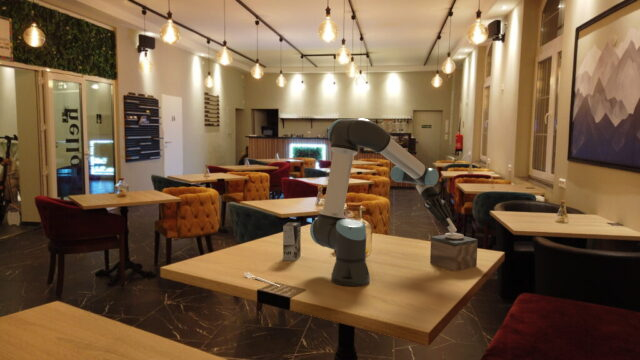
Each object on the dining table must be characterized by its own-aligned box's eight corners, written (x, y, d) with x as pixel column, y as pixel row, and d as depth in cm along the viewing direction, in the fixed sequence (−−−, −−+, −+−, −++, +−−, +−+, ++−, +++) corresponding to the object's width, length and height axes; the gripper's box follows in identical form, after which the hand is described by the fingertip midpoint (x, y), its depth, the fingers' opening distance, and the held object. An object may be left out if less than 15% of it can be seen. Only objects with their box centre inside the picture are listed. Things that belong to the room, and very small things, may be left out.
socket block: (454, 271, 192) (455, 243, 191) (430, 262, 204) (431, 236, 203) (476, 266, 200) (477, 239, 198) (452, 258, 212) (453, 233, 210)
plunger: (453, 266, 196) (454, 237, 195) (439, 261, 203) (440, 234, 202) (466, 263, 201) (467, 235, 199) (452, 259, 207) (453, 232, 206)
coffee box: (296, 261, 206) (296, 226, 204) (282, 260, 207) (282, 225, 205) (301, 255, 215) (301, 222, 213) (288, 255, 216) (288, 221, 214)
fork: (277, 289, 170) (277, 284, 170) (242, 277, 183) (242, 272, 183) (284, 287, 173) (284, 282, 173) (248, 275, 186) (248, 271, 185)
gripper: (433, 194, 219) (459, 235, 207) (413, 196, 212) (439, 238, 200) (441, 184, 214) (469, 225, 202) (421, 186, 207) (448, 228, 195)
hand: (454, 231), depth 201 cm, fingers closed
